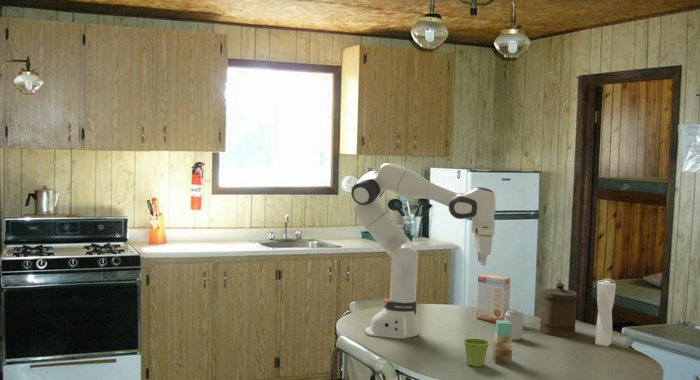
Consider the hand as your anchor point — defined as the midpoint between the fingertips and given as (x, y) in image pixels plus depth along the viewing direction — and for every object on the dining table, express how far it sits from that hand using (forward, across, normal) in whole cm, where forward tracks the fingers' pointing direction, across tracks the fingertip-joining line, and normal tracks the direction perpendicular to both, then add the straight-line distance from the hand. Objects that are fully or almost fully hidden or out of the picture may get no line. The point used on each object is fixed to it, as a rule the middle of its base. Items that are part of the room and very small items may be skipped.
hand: (481, 263), depth 291 cm
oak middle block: (+29, +17, +7) cm, 34 cm away
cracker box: (+34, -50, +13) cm, 62 cm away
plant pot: (+34, +23, -4) cm, 42 cm away
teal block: (+24, +17, +7) cm, 30 cm away
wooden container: (+34, -33, +39) cm, 62 cm away
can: (+34, -18, +17) cm, 42 cm away
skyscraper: (+34, -16, +54) cm, 66 cm away
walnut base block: (+34, +17, +7) cm, 39 cm away
